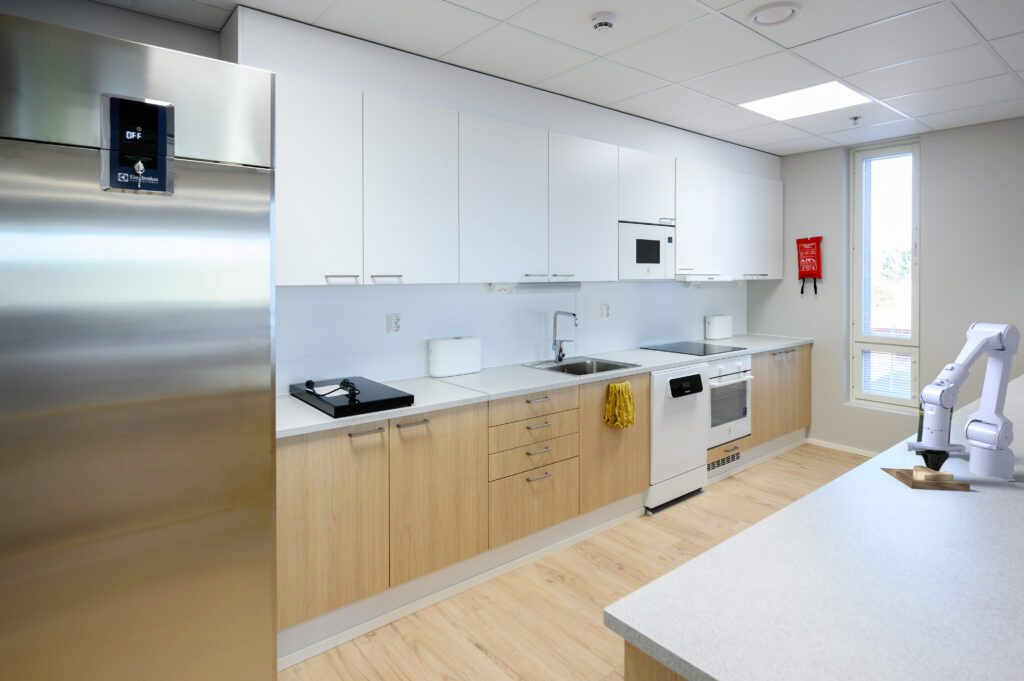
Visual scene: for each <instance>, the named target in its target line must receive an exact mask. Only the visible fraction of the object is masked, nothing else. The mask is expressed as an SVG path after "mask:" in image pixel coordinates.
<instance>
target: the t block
mask: <svg viewBox="0 0 1024 681" xmlns="http://www.w3.org/2000/svg"><path fill="white" fill-rule="evenodd" d="M954 477H955V475H954V473H952V472H949V471H946V470H942V471H941V470H939V471H934V470H932V469H930V468H927V467H926V465H923V464H922V465H913V478H914V479H917V480H930V481H952V482H954V479H955V478H954Z"/></svg>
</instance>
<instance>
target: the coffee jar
mask: <svg viewBox="0 0 1024 681" xmlns="http://www.w3.org/2000/svg"><path fill="white" fill-rule="evenodd" d="M918 413H919V414H918V418H919V419H918V427H917V436H916V437H917V438H916V442H922V434H923V421H924V410H923V408H922V402H921V401H920V403H919V409H918ZM953 414H954V406H953V407H951V410H950V423H949V436H948V443H949V444H951V431H952V420H953V419H952V418H953ZM946 453H947V454H949V455H950V452H946ZM915 456H920V457H922V455H921V454H920V451H915Z"/></svg>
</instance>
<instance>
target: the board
mask: <svg viewBox="0 0 1024 681" xmlns="http://www.w3.org/2000/svg"><path fill="white" fill-rule="evenodd" d="M879 469H880V470H881V471H883V472H885V473H887V474H888V475H890V476H891V477H893V478H894V479H896V480H897V481H899V482H900V483H902V484H904V485H905V486H906V487H908V488H910V489H911V490H912V489H915V490H930V491H932V490H934V491H954V492H970V491H971V483H970V482H968V481H953V482H952V481H930V480H917V479H914V478H913V469H914V468H913V469H911V468H890V467H889V468H888V467H879Z"/></svg>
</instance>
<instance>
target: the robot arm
mask: <svg viewBox="0 0 1024 681" xmlns="http://www.w3.org/2000/svg"><path fill="white" fill-rule="evenodd" d="M1020 339H1021V332H1020V330H1019V329H1018V327H1017V326H1016V325H1015V324H1013V323H1011V324H1010V323H1007V324H1004V323H1000V324H999V323H989V322H979V321H975V322H974V323H972V324H971V325H970V326H969V328H968V330H967V331H966V340H967V341H966V343H965V344H964V346H963V347H962V349H961V351H960V353H959V354H958V356H957V358H956V359H955V360H954V362H953V363H947V364H946V365H945V366H944V368H943V369H942V370H941V371H940V373H939V374H938V375H937V377H936V378H935V379H934V380H933V382H932V383H929V384H927V385H925V386H923V387H922V389H921V392H920V393H919V400H920V403H921V402H922V408H923V410H924V421H923V434H922V442H917V441H913V442H911V441H910V442H909V441H908V442H904V443H903V450H905V451H907V452H913V451H915V452H916V451H920V454H921V455H922V456H921V457H922V459H923V462H924V464H925V465H924V466H925V467H927V468H930V469H932V470H934V471H941V468H942V466H944V464H945V462H946V461H947V460H948V459H949V457H950V453H960V454H966V450H967V447H966V446H965V445H963V444H959V443H956V444H955V443H950V444H949V443H948V436H949V423H950V410H951V407H953V408H954V406H955V405H956V404H957V402H958V397H959V394H960V389H961V388H962V386H963V385H964V384H965V382H966V381H967V380H968V379H969V377H970V372H969V369H970V368H971V367H972V366H973V365H974V363H975V362H976V361H978V359H979V358H980V357H981V356H982V355H983V354H984V353H985V354H986V356H987V357H988V358H987V366H986V371H985V376H984V382H983V387H982V393H981V399H980V404H979V409H978V410H976V411H975V412H973V413H971V414H969V415H968V419H967V421H966V423H965V425H964V426H963V435H964V438H965V439H966V440H967V443H968V444H970V450H969V462H968V471H969V472H970V473H972V474H976V475H978V476H979V475H980V476H985V477H990V478H991V477H993V478H995V477H997V478H1001V479H1003V480H1004V481H1007V482H1015V481H1016V479H1015V478H1014V473H1015V472H1014V471H1015V462H1016V461H1015V460H1016V459H1015V454H1014V451H1013V450H1012V449H1011V448H1010V446H1011V445H1012V443H1013V441H1014V431H1013V427H1014V423H1013V422H1012V421H1011V420H1010V419H1009V418H1008V417H1006V416H1005V415H1004V408H1005V404H1006V397H1007V392H1008V387H1009V382H1010V375H1011V370H1012V365H1013V359H1014V356H1015V355H1016V354H1017V355H1018V350H1019V345H1020ZM946 452H949V454H947V453H946Z"/></svg>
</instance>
